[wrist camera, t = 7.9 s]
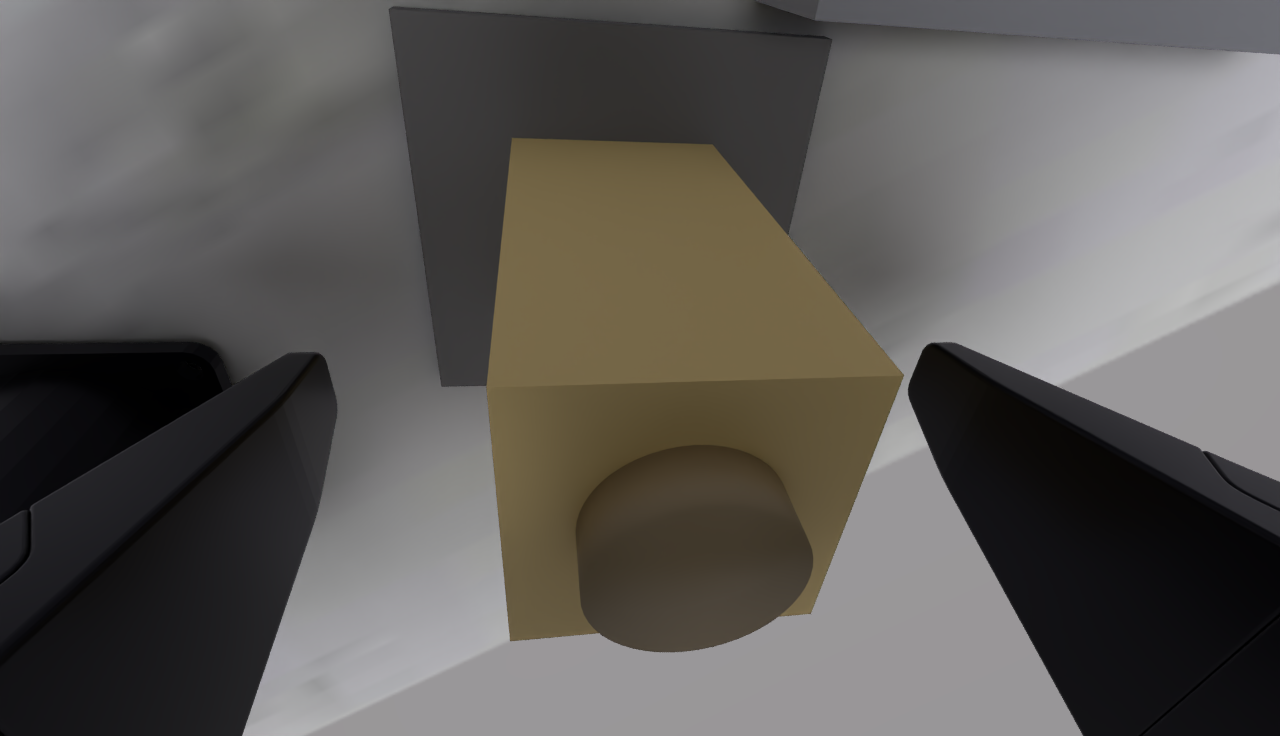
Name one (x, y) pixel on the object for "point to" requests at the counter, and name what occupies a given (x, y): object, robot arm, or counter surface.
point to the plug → (667, 400)
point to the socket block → (1072, 19)
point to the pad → (577, 127)
